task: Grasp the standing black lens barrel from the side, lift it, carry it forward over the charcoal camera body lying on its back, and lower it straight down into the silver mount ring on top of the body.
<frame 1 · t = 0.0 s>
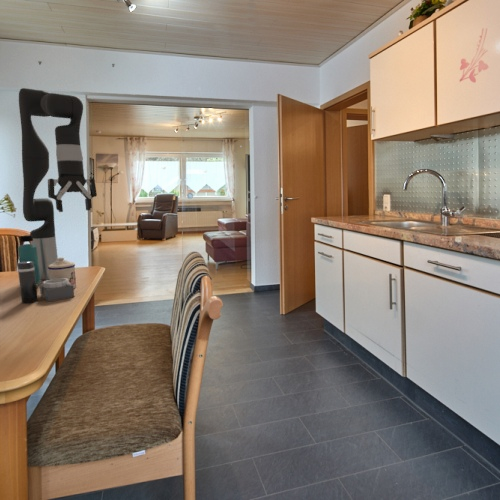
hand: (74, 211, 126), 29 cm above the table, tool pointing down, fingers open, 8 cm apart
lens: (30, 301, 129), on the table
beverage bottle: (32, 288, 148), on the table
camera body: (57, 296, 134), on the table
teacup with lid: (64, 288, 146), on the table
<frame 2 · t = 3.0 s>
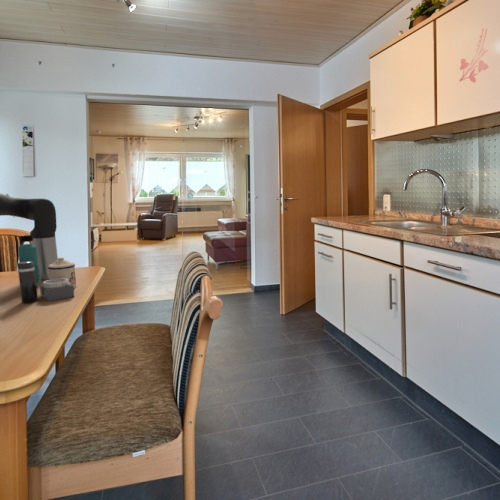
nothing on the table moved.
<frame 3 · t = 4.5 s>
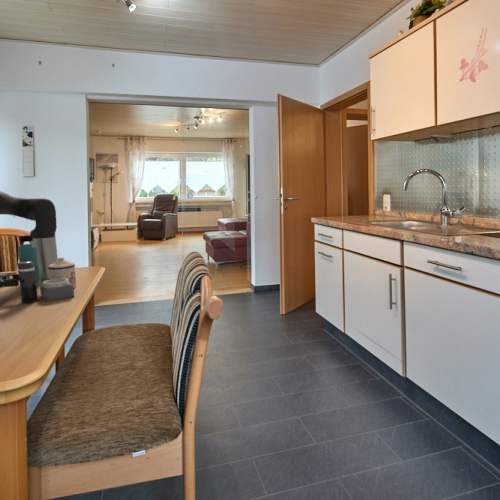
hand: (23, 279, 127), 7 cm above the table, tool horizontal, fingers open, 8 cm apart
nothing on the table moved.
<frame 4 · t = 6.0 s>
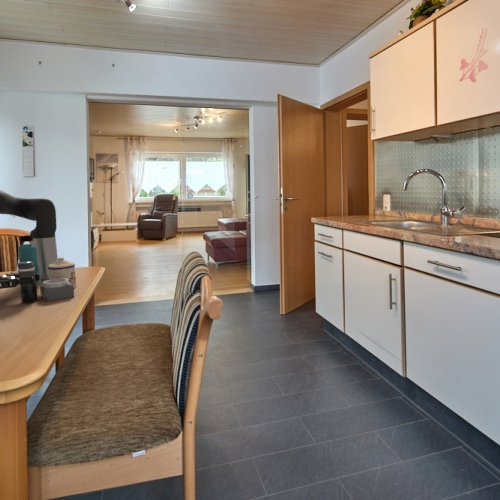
hand: (36, 278, 128), 8 cm above the table, tool horizontal, fingers closed on lens, 4 cm apart
lens: (30, 301, 129), on the table, touching gripper
everything else where it was.
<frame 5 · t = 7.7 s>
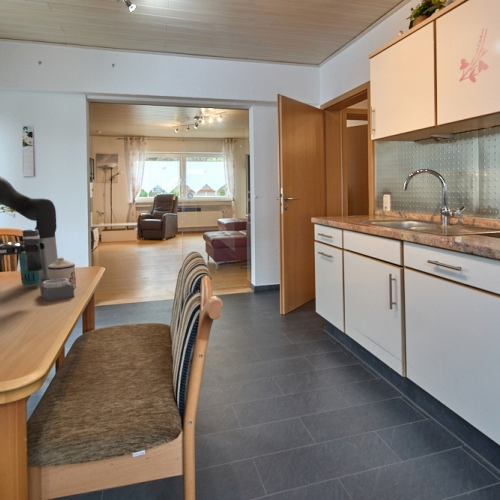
hand: (41, 246, 128), 18 cm above the table, tool horizontal, fingers closed on lens, 4 cm apart
lens: (34, 269, 129), point 10 cm above the table, touching gripper
everything else where it was.
when the fingers open (13 cm above the table, at t = 9.9 s): lens drops 1 cm, resting on camera body.
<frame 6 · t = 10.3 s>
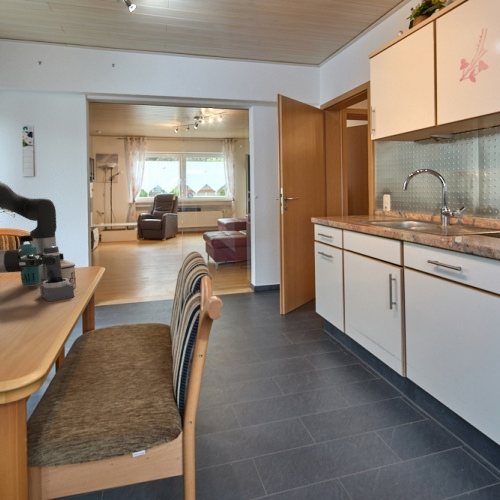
hand: (59, 258, 132), 13 cm above the table, tool horizontal, fingers open, 8 cm apart
lens: (56, 284, 133), point 4 cm above the table, touching camera body
everything else where it was.
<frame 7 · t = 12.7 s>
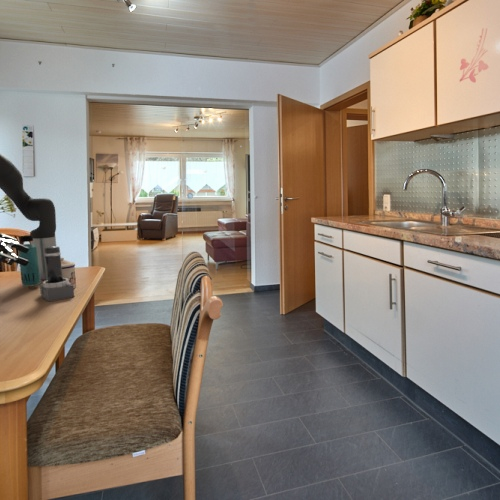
hand: (27, 256, 135), 13 cm above the table, tool tilted 60°, fingers open, 8 cm apart
nothing on the table moved.
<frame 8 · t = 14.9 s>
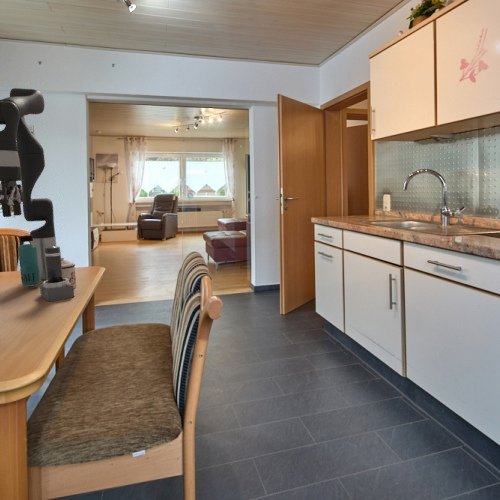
hand: (12, 216, 128), 28 cm above the table, tool pointing down, fingers open, 8 cm apart
nothing on the table moved.
at the end: lens 0.1 cm off-centre on the camera body, point 4.0 cm above the camera body's base; lens tilted 0°; the gripper is holding nothing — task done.
